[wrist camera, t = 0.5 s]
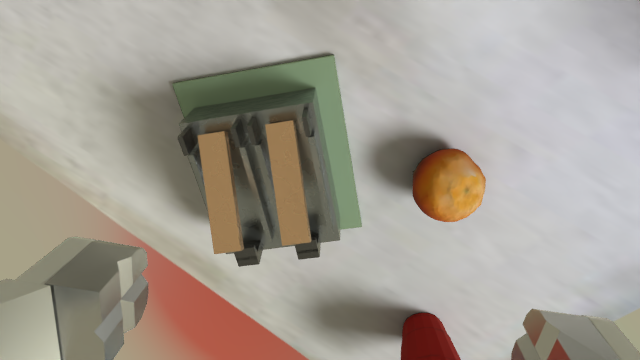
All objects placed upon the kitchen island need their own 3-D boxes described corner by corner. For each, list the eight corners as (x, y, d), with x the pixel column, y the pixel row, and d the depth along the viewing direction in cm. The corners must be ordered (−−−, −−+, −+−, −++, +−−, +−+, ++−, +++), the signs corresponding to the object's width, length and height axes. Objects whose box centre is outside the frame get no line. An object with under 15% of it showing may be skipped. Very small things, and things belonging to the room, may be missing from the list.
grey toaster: (193, 107, 47) (168, 134, 40) (315, 87, 46) (311, 112, 39) (235, 229, 55) (220, 270, 48) (340, 216, 54) (340, 255, 47)
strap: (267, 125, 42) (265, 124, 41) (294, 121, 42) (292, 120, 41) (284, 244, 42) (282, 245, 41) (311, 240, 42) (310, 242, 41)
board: (174, 82, 47) (172, 84, 46) (333, 54, 44) (333, 55, 44) (229, 240, 57) (228, 243, 56) (361, 224, 55) (361, 226, 54)
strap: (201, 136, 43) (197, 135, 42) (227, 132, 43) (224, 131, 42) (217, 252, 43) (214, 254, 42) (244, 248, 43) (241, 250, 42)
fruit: (383, 174, 50) (426, 188, 42) (429, 133, 51) (478, 140, 44) (413, 223, 53) (458, 243, 46) (456, 183, 54) (506, 196, 47)
